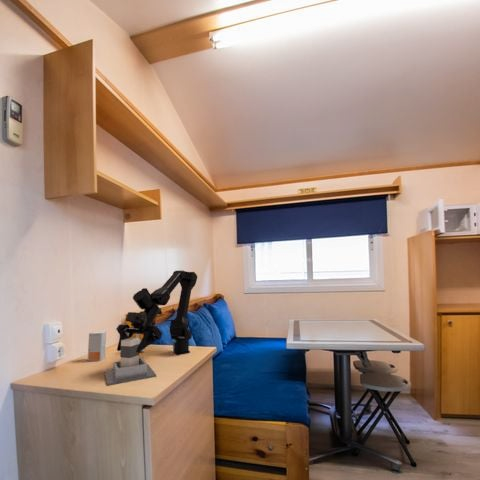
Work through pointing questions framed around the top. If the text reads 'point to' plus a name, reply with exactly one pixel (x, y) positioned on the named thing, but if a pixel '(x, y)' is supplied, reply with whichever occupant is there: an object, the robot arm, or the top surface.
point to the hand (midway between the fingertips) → (127, 351)
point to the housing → (128, 373)
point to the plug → (129, 352)
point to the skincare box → (96, 346)
